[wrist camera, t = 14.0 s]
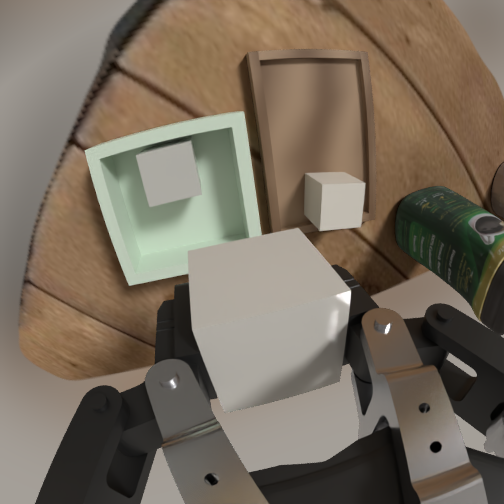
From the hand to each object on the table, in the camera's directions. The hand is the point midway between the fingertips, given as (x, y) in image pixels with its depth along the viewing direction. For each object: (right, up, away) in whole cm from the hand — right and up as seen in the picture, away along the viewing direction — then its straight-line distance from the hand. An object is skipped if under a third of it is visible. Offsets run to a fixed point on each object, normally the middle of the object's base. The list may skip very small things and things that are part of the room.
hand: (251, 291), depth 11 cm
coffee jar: (+20, +6, +20) cm, 29 cm away
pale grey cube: (0, 0, 0) cm, 0 cm away
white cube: (+7, +7, +16) cm, 19 cm away
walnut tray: (+6, +12, +14) cm, 19 cm away
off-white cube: (-7, +9, +12) cm, 16 cm away
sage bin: (-6, +7, +14) cm, 17 cm away
